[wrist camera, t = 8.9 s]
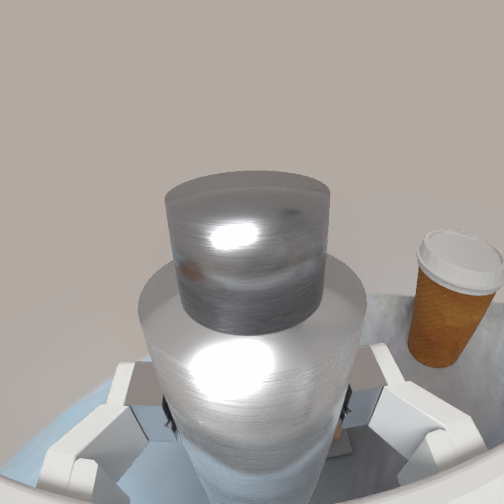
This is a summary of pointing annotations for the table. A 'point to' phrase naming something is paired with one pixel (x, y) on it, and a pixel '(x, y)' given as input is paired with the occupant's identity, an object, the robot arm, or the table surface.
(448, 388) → the table surface
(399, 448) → the robot arm
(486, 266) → the disposable coffee cup
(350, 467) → the table surface
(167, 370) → the silver water flask
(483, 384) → the table surface
